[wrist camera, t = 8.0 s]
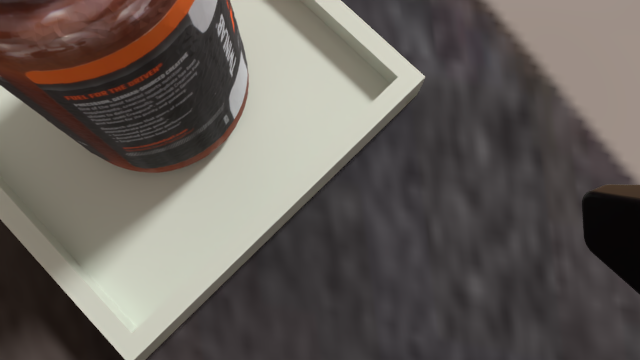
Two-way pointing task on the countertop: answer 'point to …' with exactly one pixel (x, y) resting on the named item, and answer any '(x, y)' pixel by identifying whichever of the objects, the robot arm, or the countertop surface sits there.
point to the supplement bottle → (129, 75)
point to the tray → (201, 174)
